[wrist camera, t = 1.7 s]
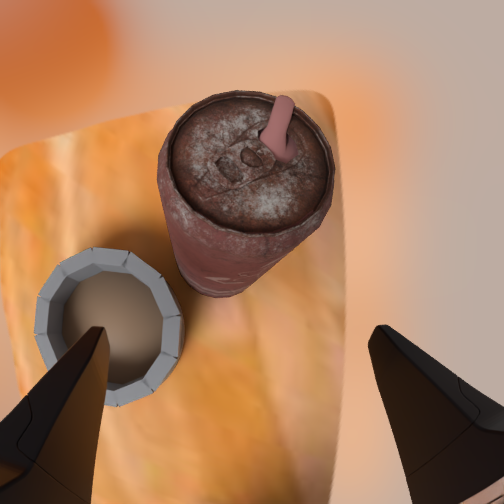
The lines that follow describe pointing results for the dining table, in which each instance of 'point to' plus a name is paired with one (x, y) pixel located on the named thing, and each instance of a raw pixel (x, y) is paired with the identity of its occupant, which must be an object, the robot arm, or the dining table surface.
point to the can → (242, 187)
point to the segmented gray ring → (113, 318)
